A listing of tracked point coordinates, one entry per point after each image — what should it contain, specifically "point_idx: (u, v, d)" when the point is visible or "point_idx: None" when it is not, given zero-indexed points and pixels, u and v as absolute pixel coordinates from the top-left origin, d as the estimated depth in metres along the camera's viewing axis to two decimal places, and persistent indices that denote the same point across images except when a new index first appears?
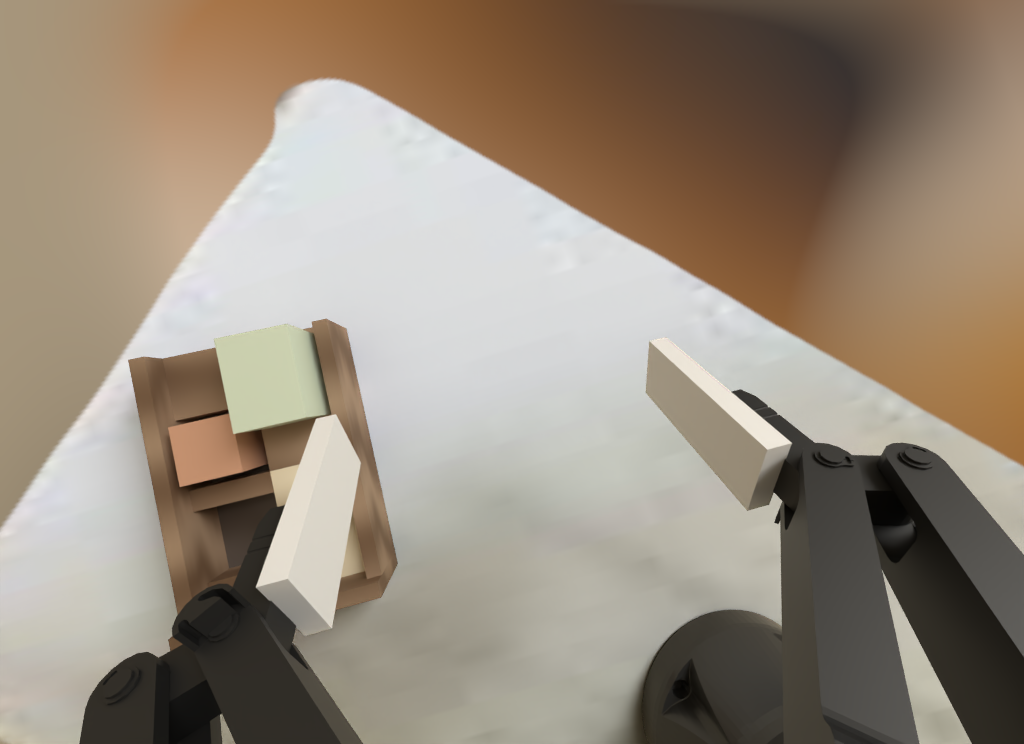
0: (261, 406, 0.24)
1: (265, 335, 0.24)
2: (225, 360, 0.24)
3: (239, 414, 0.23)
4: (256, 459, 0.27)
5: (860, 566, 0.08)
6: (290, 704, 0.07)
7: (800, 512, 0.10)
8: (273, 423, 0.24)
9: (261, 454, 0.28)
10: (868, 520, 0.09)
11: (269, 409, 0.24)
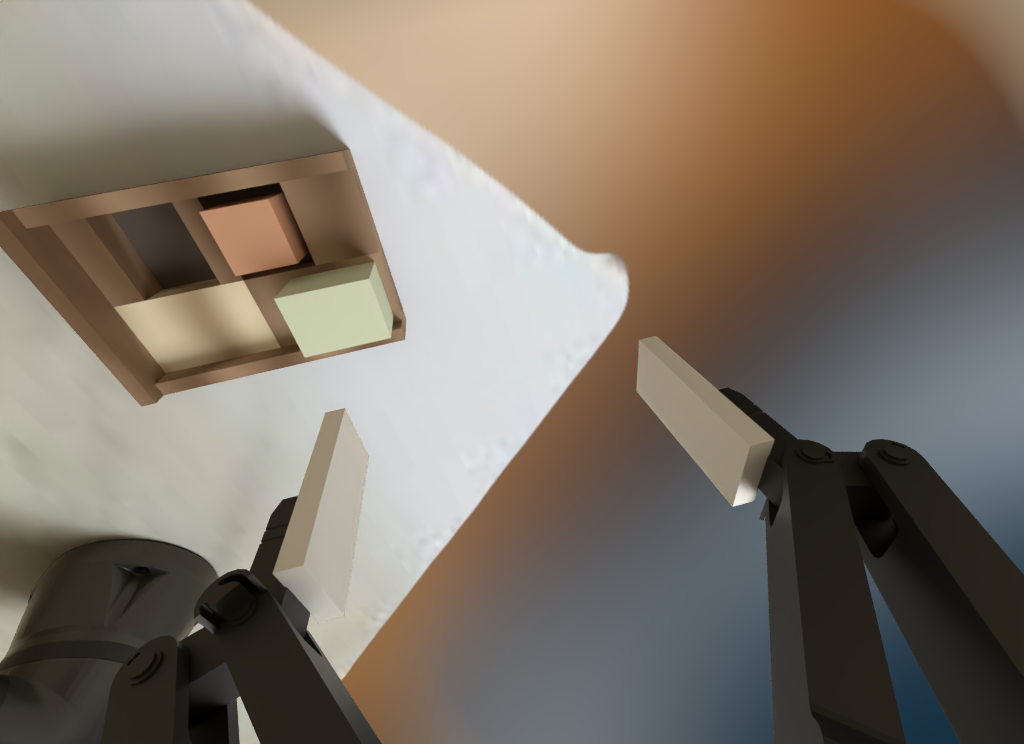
0: (308, 321, 0.25)
1: (378, 321, 0.26)
2: (348, 289, 0.25)
3: (295, 303, 0.25)
4: None
5: (843, 560, 0.08)
6: (305, 690, 0.07)
7: (784, 508, 0.10)
8: (292, 332, 0.25)
9: None
10: (850, 515, 0.09)
11: (306, 328, 0.26)
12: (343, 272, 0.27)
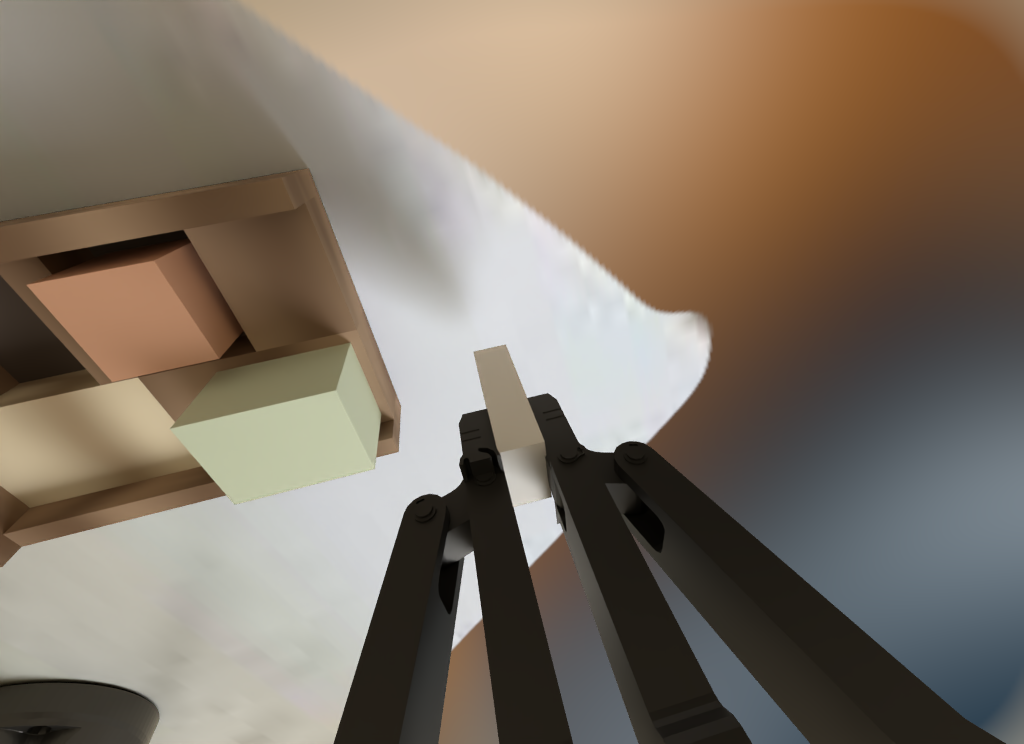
0: (234, 457, 0.15)
1: (353, 448, 0.16)
2: (301, 407, 0.15)
3: (209, 432, 0.14)
4: None
5: (621, 544, 0.09)
6: (513, 562, 0.09)
7: (568, 516, 0.10)
8: (209, 472, 0.15)
9: None
10: (610, 497, 0.10)
11: (232, 465, 0.15)
12: (298, 365, 0.17)
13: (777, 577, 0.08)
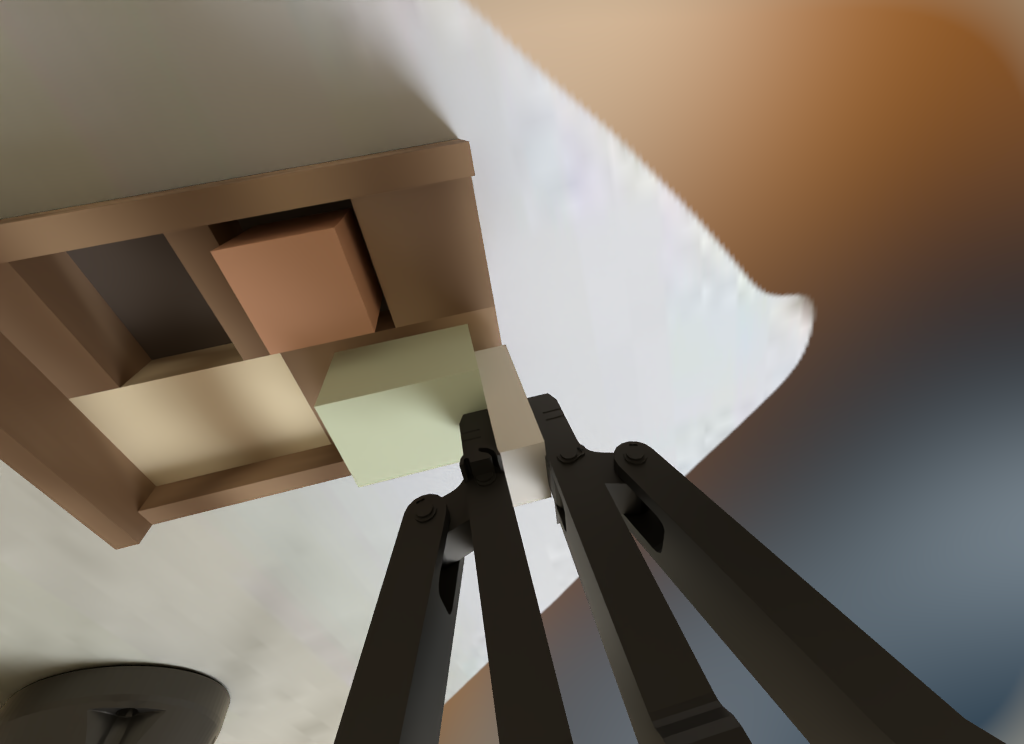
0: (369, 437, 0.15)
1: None
2: (442, 386, 0.14)
3: (350, 411, 0.14)
4: None
5: (620, 544, 0.09)
6: (513, 562, 0.09)
7: (568, 516, 0.10)
8: (342, 453, 0.15)
9: None
10: (610, 497, 0.10)
11: (365, 446, 0.15)
12: (422, 346, 0.16)
13: (777, 577, 0.08)
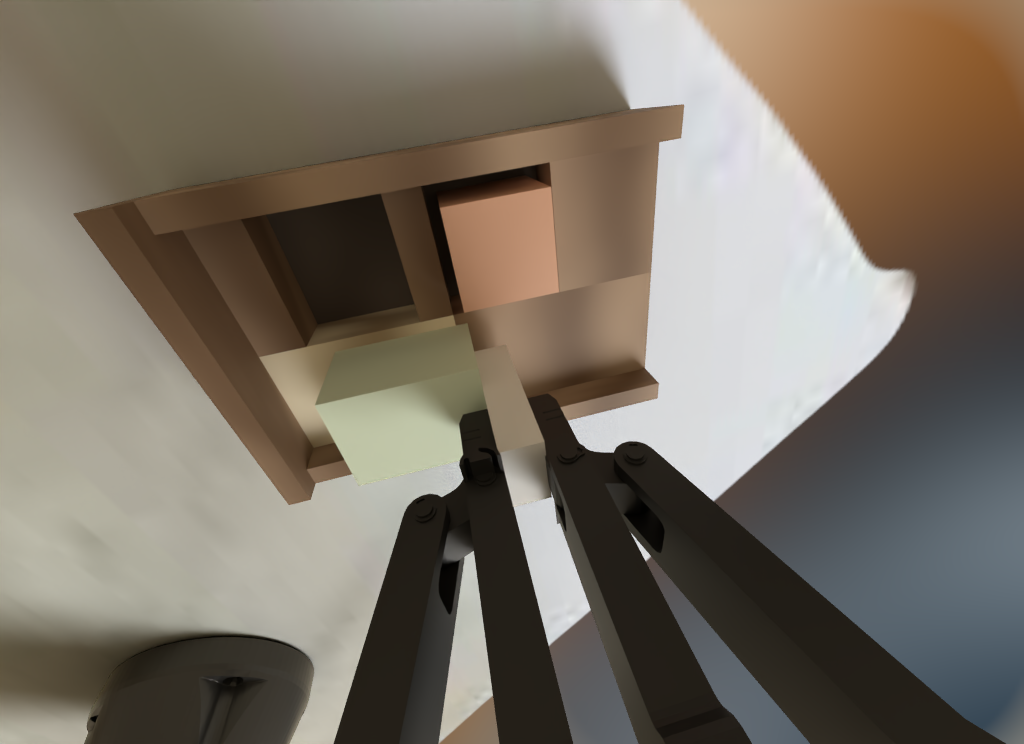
0: (369, 436, 0.15)
1: None
2: (442, 385, 0.14)
3: (351, 410, 0.14)
4: None
5: (620, 544, 0.09)
6: (513, 562, 0.09)
7: (568, 516, 0.10)
8: (342, 452, 0.15)
9: None
10: (610, 497, 0.10)
11: (365, 445, 0.15)
12: (422, 345, 0.16)
13: (777, 577, 0.08)
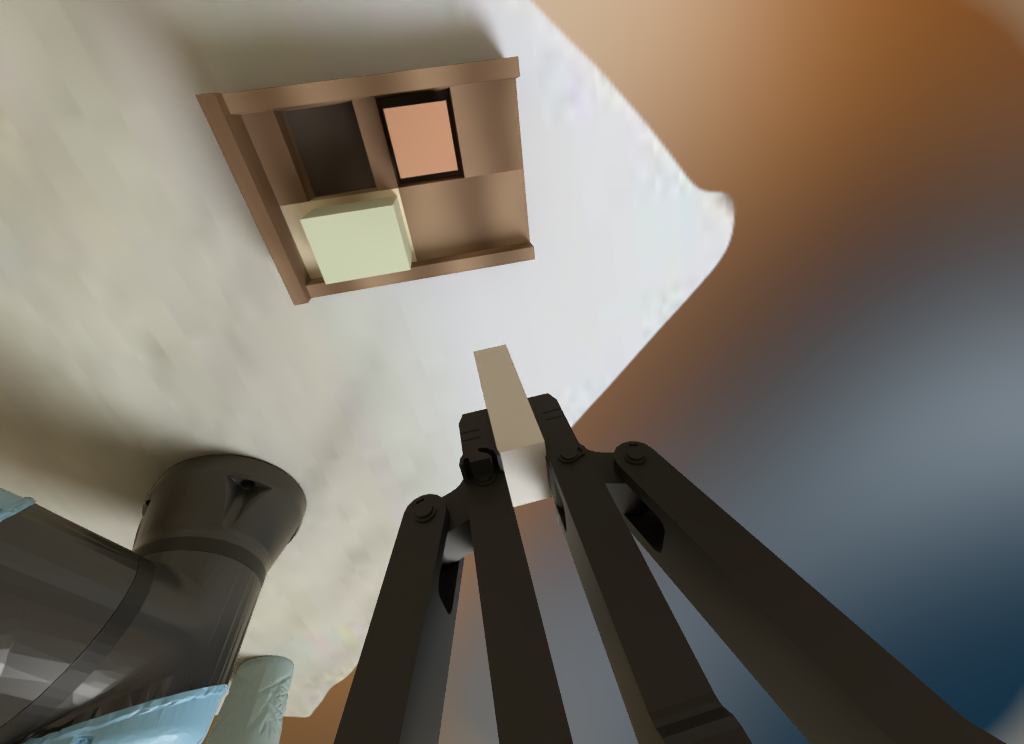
0: (331, 246, 0.26)
1: (399, 251, 0.27)
2: (372, 215, 0.25)
3: (320, 226, 0.25)
4: None
5: (621, 544, 0.09)
6: (513, 562, 0.09)
7: (568, 516, 0.10)
8: (315, 256, 0.26)
9: None
10: (610, 497, 0.10)
11: (329, 253, 0.26)
12: (366, 202, 0.27)
13: (777, 577, 0.08)
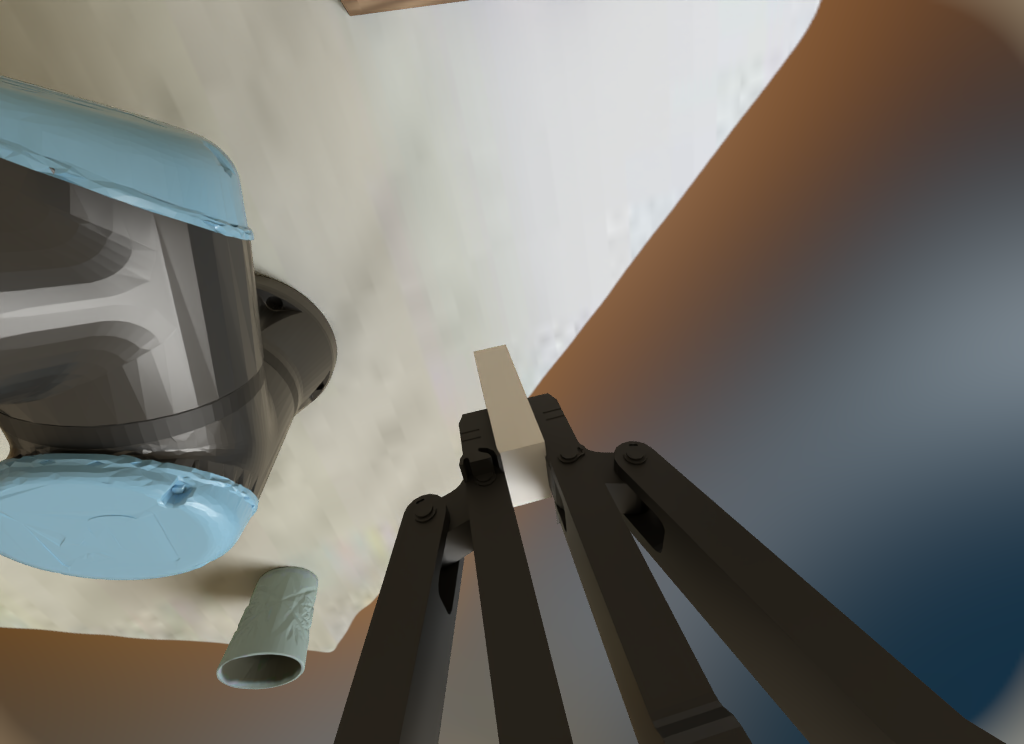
0: None
1: None
2: None
3: None
4: None
5: (621, 544, 0.09)
6: (513, 562, 0.09)
7: (568, 516, 0.10)
8: None
9: None
10: (610, 497, 0.10)
11: None
12: None
13: (777, 577, 0.08)
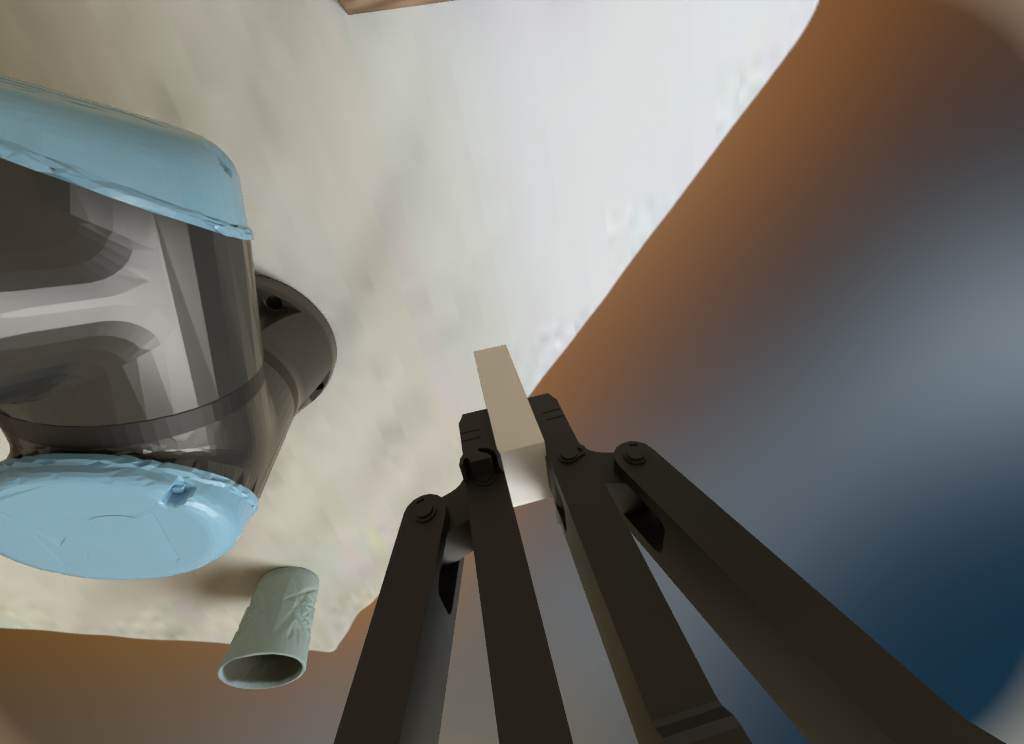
0: None
1: None
2: None
3: None
4: None
5: (621, 544, 0.09)
6: (513, 562, 0.09)
7: (568, 516, 0.10)
8: None
9: None
10: (610, 497, 0.10)
11: None
12: None
13: (777, 577, 0.08)
